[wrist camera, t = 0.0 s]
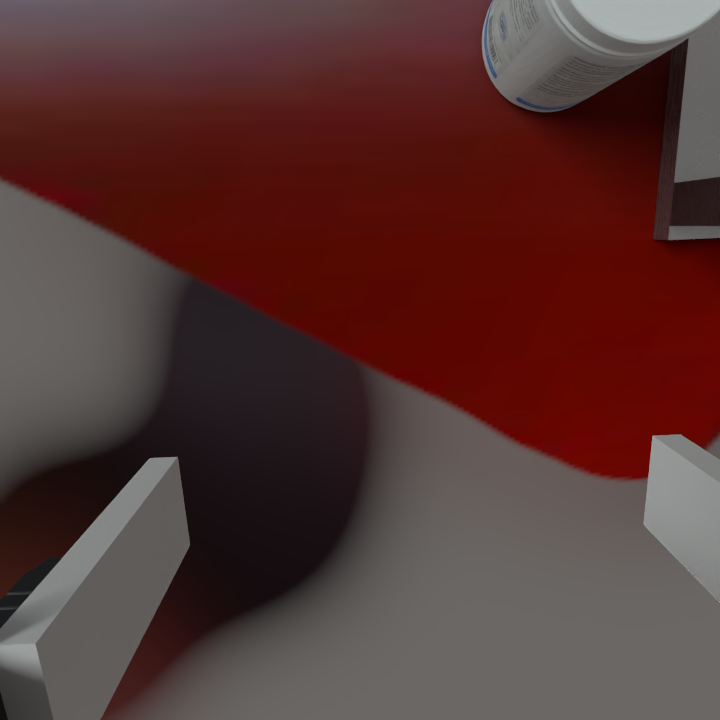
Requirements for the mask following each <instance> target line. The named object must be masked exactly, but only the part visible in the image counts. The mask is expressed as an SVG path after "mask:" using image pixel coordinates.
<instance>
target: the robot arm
mask: <svg viewBox="0 0 720 720" xmlns="http://www.w3.org/2000/svg"><path fill="white" fill-rule="evenodd" d="M644 526H645V527H646V528H647V529H648V530H649V531H650V532H651V533H652V534H653V535H654V536H655V537H656V538H657V539H658V540H659V541H660V542H661V543H662V544H663V545H664V546H665V547H666V548H667V549H668V550H669V551H670V552H671V553H672V555H673V556H675V558H676V559H677V560H678V561H679V562H680V563H681V564H682V565H683V566H684V567H685V568H686V569H687V570H688V571H689V572H690V573H691V574H692V575H693V576H694V577H695V578H696V579H697V580H698V581H699V582H700V583H701V584H702V585H703V586H704V588H705V589H707V591H708V592H709V593H710V594H711V595H712V596H713V597H714V598H715V599H716V600H717V601H718V602H719V603H720V460H719V459H718V458H716V457H715V456H713V455H712V454H710V453H708V452H707V451H705V450H704V449H702V448H701V447H699V446H698V445H696V444H694V443H693V442H691V441H690V440H688V439H687V438H685V437H683V436H682V435H659V436H653V437H652V447H651V457H650V466H649V476H648V486H647V496H646V505H645V514H644ZM189 546H190V542H189V535H188V528H187V521H186V513H185V506H184V499H183V492H182V485H181V478H180V471H179V464H178V458H177V457H168V458H150V459H149V460H148V461H147V462H146V463H145V464H144V465H143V467H142V468H141V469H140V470H139V471H138V473H136V475H135V476H134V477H133V478H132V479H131V480H130V481H129V483H128V484H127V485H126V486H125V487H124V488H123V489H122V491H121V492H120V493H119V494H118V495H117V496H116V498H115V499H114V500H113V501H112V502H111V503H110V504H109V505H108V507H107V508H106V509H105V510H104V511H103V512H102V514H101V515H100V516H99V517H98V518H97V519H96V520H95V521H94V522H93V524H92V525H91V526H90V527H89V528H88V529H87V530H86V532H85V533H84V534H83V535H82V536H81V537H80V538H79V540H78V541H77V542H76V543H75V544H74V545H73V546H72V548H71V549H70V550H69V551H68V552H67V553H66V554H65V556H64V557H63V558H52V559H47V560H46V561H44V562H43V563H41V564H40V565H38V566H36V567H35V568H33V569H32V570H30V571H29V572H27V573H26V574H24V576H23V577H22V578H21V579H20V580H19V581H18V582H17V583H16V584H15V585H14V586H13V587H12V588H11V589H10V590H9V591H8V594H7V596H4V597H3V598H2V599H1V600H0V720H100V719H101V717H102V715H103V713H104V711H105V709H106V707H107V705H108V704H109V701H110V700H111V698H112V696H113V694H114V692H115V690H116V688H117V686H118V684H119V682H120V680H121V678H122V676H123V674H124V672H125V670H126V669H127V666H128V665H129V662H130V660H131V659H132V657H133V655H134V653H135V651H136V649H137V647H138V645H139V643H140V641H141V639H142V637H143V635H144V633H145V632H146V630H147V628H148V626H149V624H150V622H151V620H152V618H153V616H154V614H155V612H156V610H157V608H158V606H159V604H160V602H161V600H162V598H163V596H164V595H165V593H166V591H167V589H168V587H169V585H170V583H171V581H172V579H173V577H174V575H175V573H176V571H177V569H178V567H179V565H180V563H181V561H182V559H183V557H184V556H185V554H186V552H187V550H188V548H189Z"/></svg>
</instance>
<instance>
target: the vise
mask: <svg viewBox="0 0 720 720" xmlns="http://www.w3.org/2000/svg"><path fill="white" fill-rule="evenodd" d="M704 238H720V12H719V13H718V14H717V15H716V16H715V17H714V18H713V19H711V20H710V21H709V22H707V23H706V24H705V25H704V26H702V27H701V28H700V29H699V30H698V31H697V32H695V33H694V34H693V35H692V36H690V37H689V38H687V39H686V40H685V41H683V42H682V43H680V44H679V45H677V46H675V47H674V48H672V49H671V56H670V66H669V77H668V87H667V98H666V108H665V119H664V130H663V140H662V151H661V161H660V172H659V182H658V193H657V204H656V214H655V225H654V235H653V239H655V240H682V239H704Z"/></svg>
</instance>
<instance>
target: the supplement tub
mask: <svg viewBox="0 0 720 720" xmlns="http://www.w3.org/2000/svg"><path fill="white" fill-rule="evenodd" d="M719 12H720V0H493V1H492V3H491V5H490V7H489V10H488V12H487V15H486V19H485V22H484V27H483V33H482V53H483V59H484V63H485V67H486V70H487V72H488V75H489V77H490V79H491V81H492V82H493V84H494V85H495V87H496V88H497V90H498V91H499V92H500V93H501V94H502V95H503V96H504V97H505V98H506V99H508V100H509V101H510V102H512V103H513V104H515V105H517V106H520V107H522V108H525V109H528V110H532V111H536V112H554V111H560V110H564V109H567V108H569V107H572V106H574V105H576V104H578V103H580V102H582V101H584V100H585V99H587V98H589V97H591V96H592V95H594V94H596V93H597V92H599V91H601V90H603V89H604V88H606V87H608V86H609V85H611V84H613V83H615V82H616V81H618V80H620V79H621V78H623V77H625V76H626V75H628V74H630V73H632V72H633V71H635V70H637V69H639V68H640V67H642V66H644V65H645V64H647V63H649V62H650V61H652V60H654V59H655V58H657V57H659V56H661V55H662V54H664V53H666V52H667V51H669V50H670V49H672V48H674V47H675V46H677V45H679V44H680V43H682V42H683V41H685V40H686V39H687V38H689V37H690V36H692V35H693V34H694V33H695V32H697V31H698V30H699V29H700V28H701V27H702V26H704V25H705V24H706V23H707V22H709V21H710V20H711V19H713V18H714V17H715V16H716V15H717V14H718V13H719Z"/></svg>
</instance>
